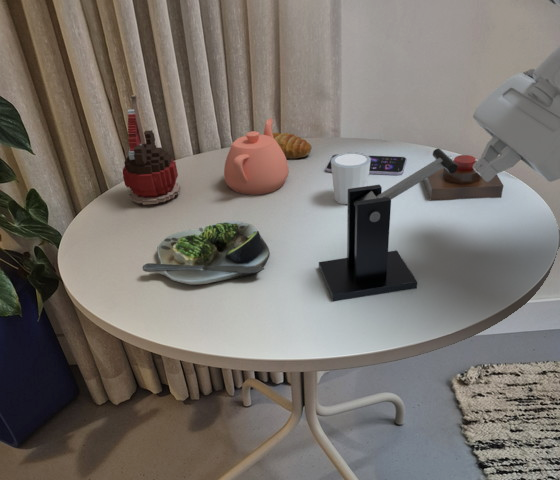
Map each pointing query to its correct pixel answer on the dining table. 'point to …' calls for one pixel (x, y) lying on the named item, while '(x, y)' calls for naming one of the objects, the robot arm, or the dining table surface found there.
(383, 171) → the smartphone
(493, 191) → the console
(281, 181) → the teapot
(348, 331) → the dining table surface
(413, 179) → the lever
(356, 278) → the bracket
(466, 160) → the button
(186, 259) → the salad plate
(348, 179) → the white cup
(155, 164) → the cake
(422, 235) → the dining table surface
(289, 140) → the pastry
